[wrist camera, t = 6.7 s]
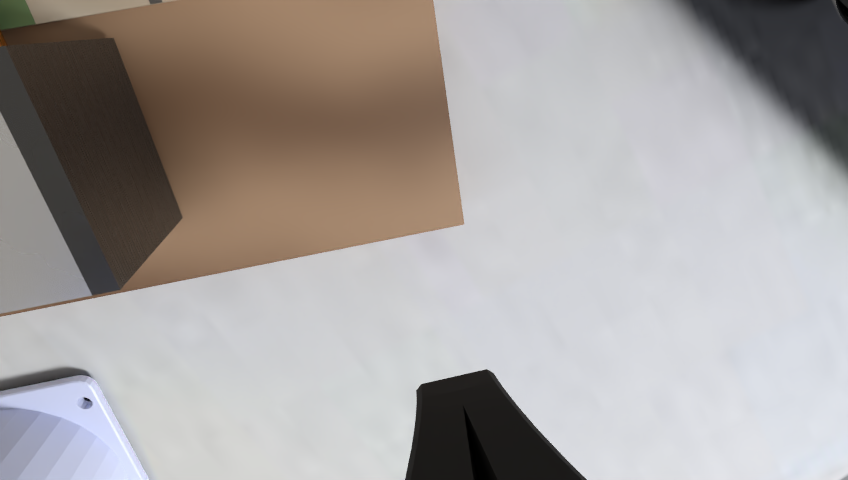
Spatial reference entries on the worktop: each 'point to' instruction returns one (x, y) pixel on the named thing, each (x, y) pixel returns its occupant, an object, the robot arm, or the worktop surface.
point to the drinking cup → (843, 9)
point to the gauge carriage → (74, 174)
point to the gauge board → (275, 121)
